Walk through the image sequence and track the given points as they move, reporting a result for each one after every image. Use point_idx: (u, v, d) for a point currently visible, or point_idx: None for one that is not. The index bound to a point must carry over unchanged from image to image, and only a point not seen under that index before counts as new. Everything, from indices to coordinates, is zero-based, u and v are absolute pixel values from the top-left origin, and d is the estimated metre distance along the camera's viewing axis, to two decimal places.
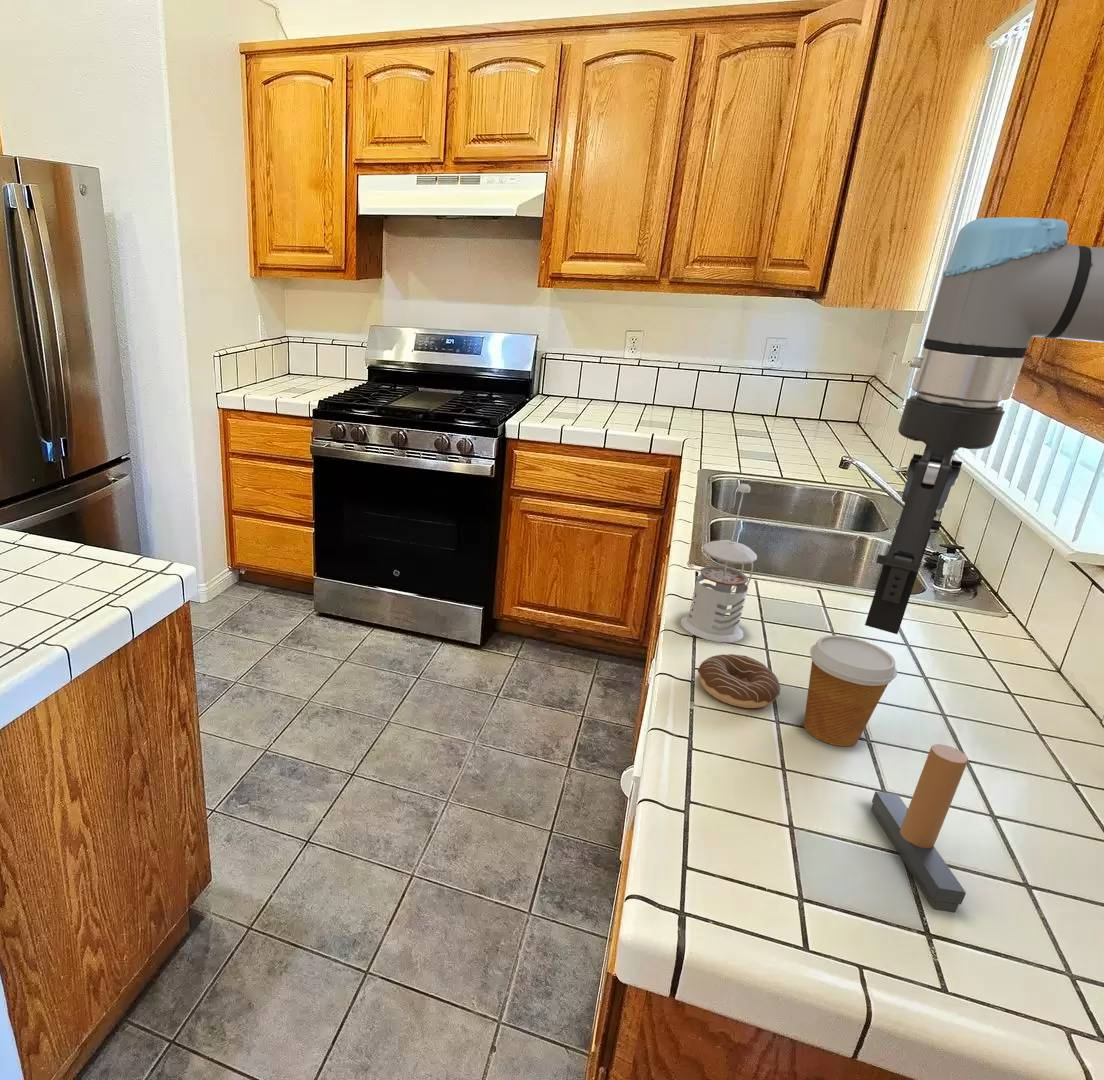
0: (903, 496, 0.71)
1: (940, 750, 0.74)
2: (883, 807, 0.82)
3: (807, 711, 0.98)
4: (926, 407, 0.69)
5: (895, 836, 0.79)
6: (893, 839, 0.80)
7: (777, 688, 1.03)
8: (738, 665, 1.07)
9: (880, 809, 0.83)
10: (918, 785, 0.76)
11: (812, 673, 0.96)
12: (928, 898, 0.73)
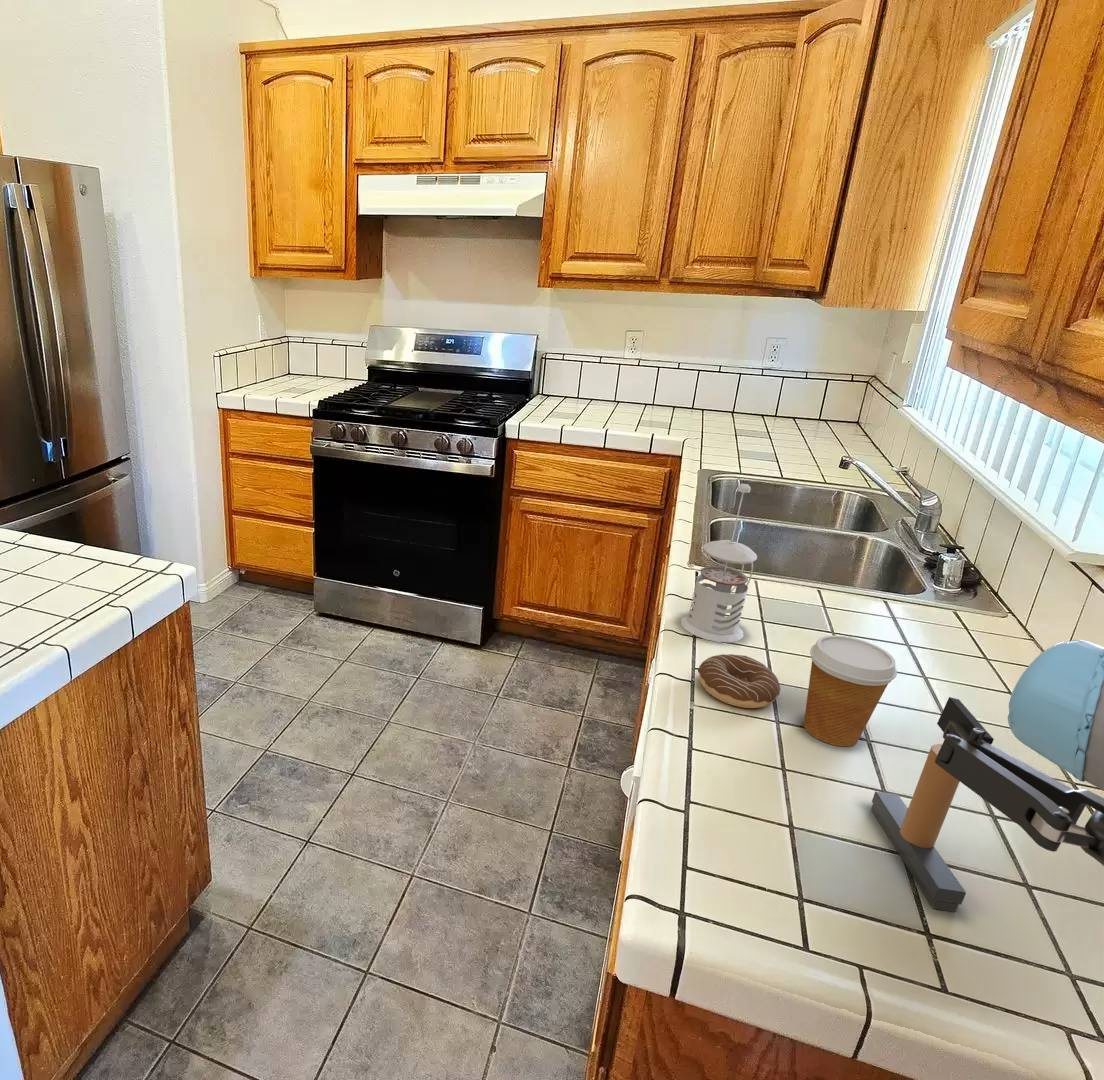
0: None
1: None
2: (883, 807, 0.82)
3: (807, 711, 0.98)
4: None
5: (895, 836, 0.79)
6: (893, 839, 0.80)
7: (777, 688, 1.03)
8: (738, 665, 1.07)
9: (880, 809, 0.83)
10: (918, 785, 0.76)
11: (812, 673, 0.96)
12: (928, 898, 0.73)
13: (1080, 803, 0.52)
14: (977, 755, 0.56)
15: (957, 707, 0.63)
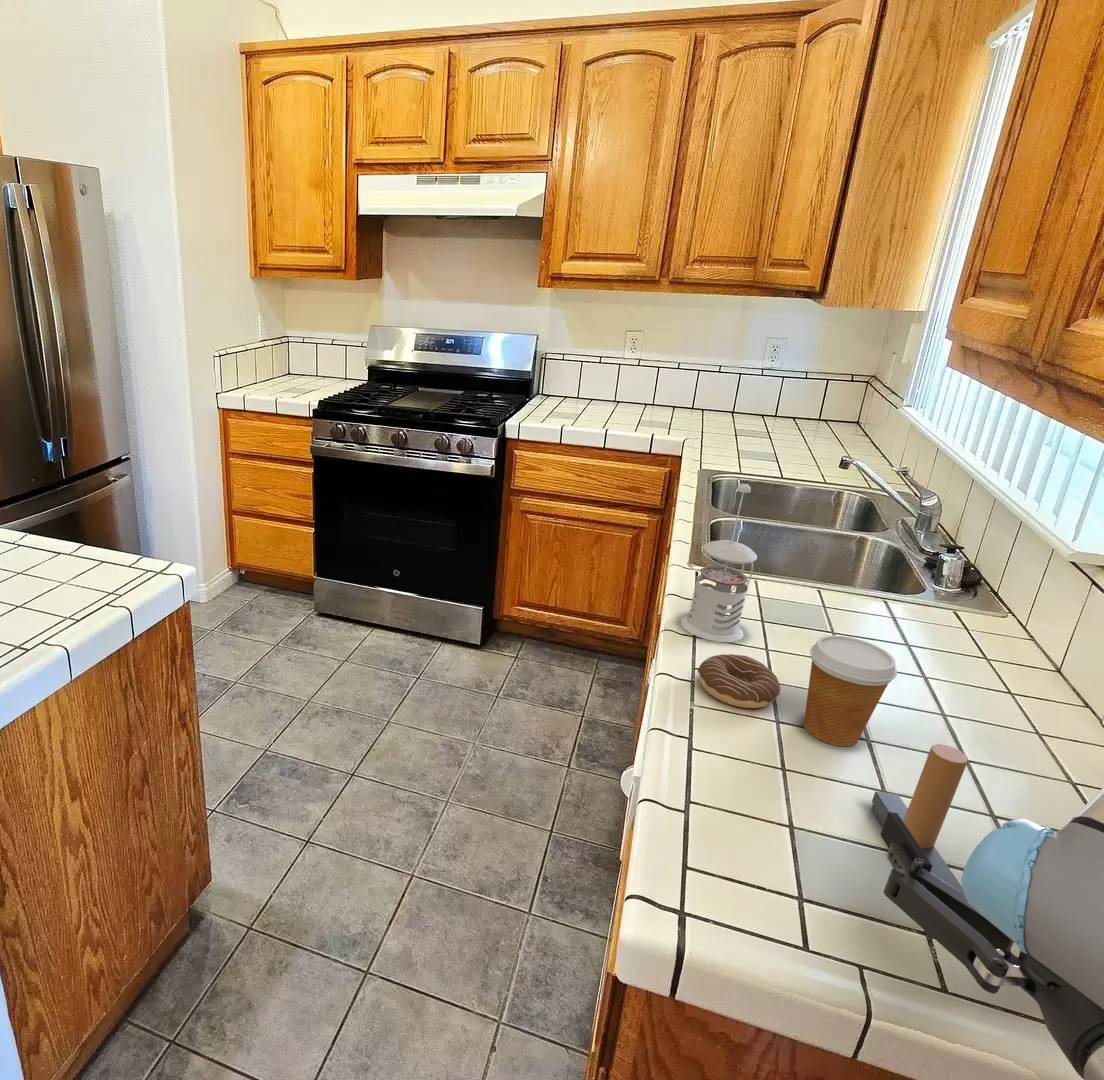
0: None
1: (940, 750, 0.74)
2: (883, 807, 0.82)
3: (807, 711, 0.98)
4: None
5: None
6: None
7: (777, 688, 1.03)
8: (738, 665, 1.07)
9: (880, 809, 0.83)
10: (918, 785, 0.76)
11: (812, 673, 0.96)
12: None
13: None
14: (920, 893, 0.61)
15: (897, 825, 0.69)
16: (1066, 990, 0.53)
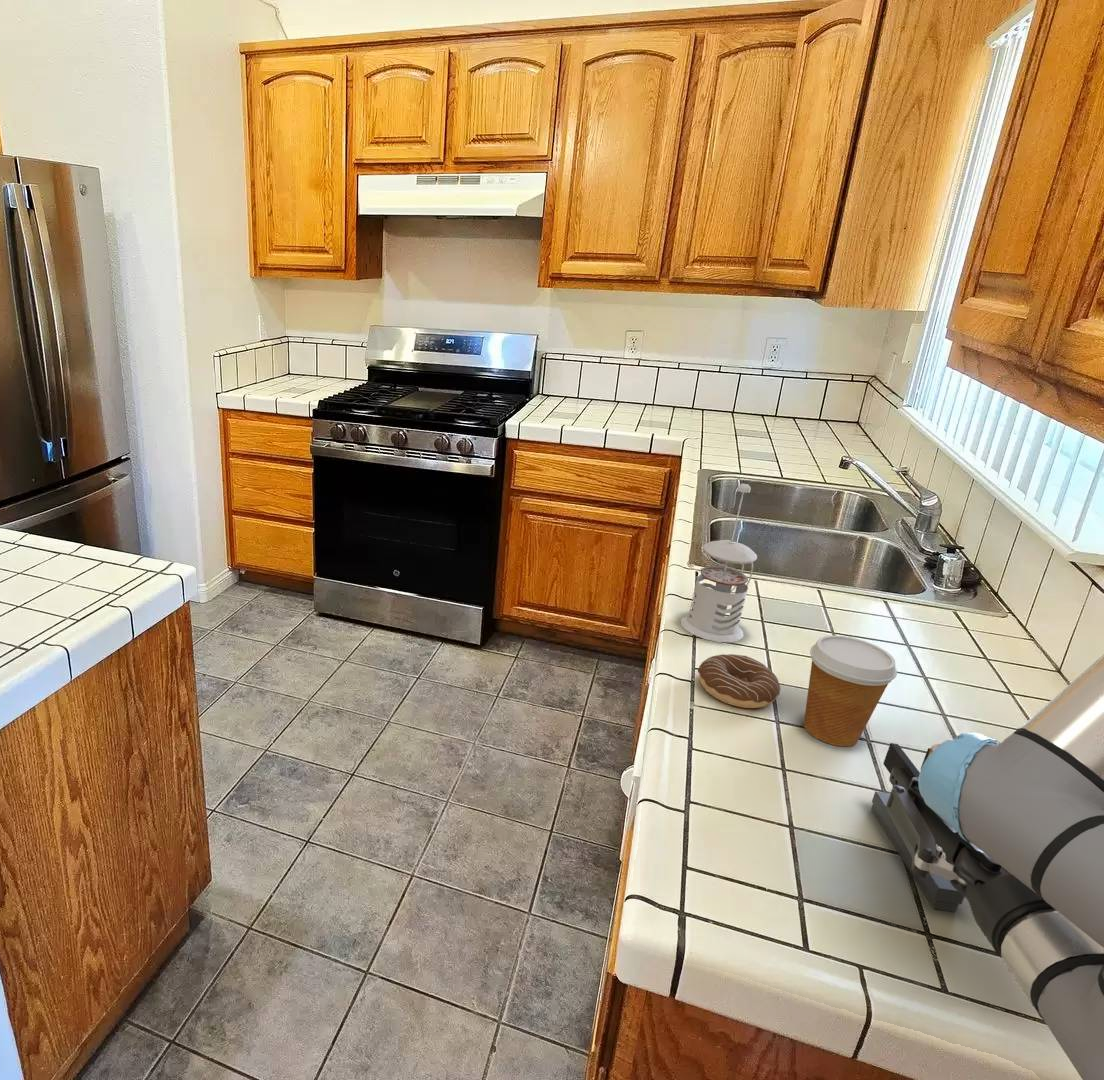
0: None
1: None
2: (883, 807, 0.82)
3: (807, 711, 0.98)
4: None
5: (895, 836, 0.79)
6: (893, 839, 0.80)
7: (777, 688, 1.03)
8: (738, 665, 1.07)
9: (880, 809, 0.83)
10: None
11: (812, 673, 0.96)
12: (928, 898, 0.73)
13: (960, 841, 0.67)
14: (905, 802, 0.71)
15: (897, 753, 0.79)
16: (989, 884, 0.61)
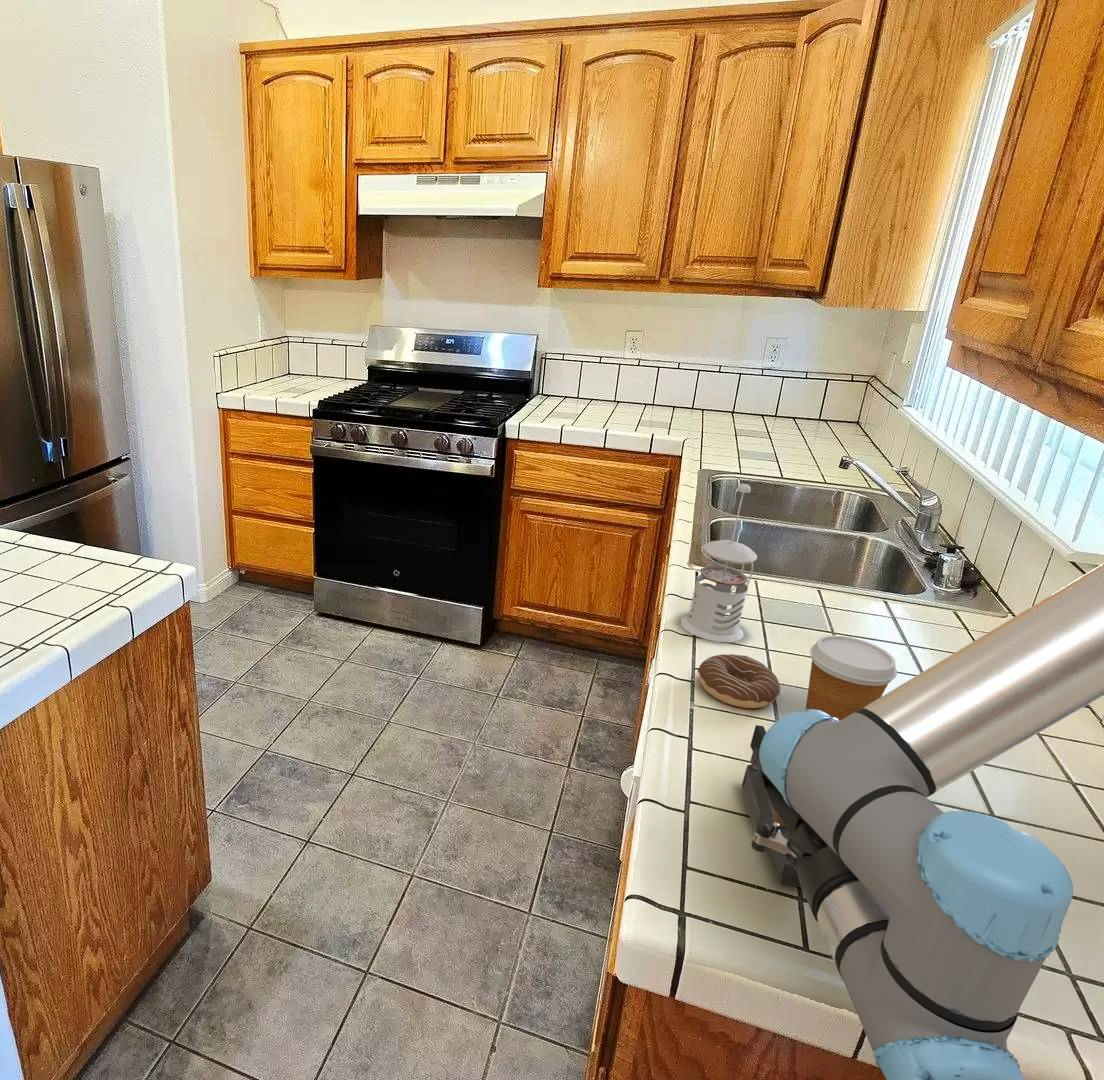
0: None
1: None
2: None
3: None
4: None
5: None
6: None
7: (777, 688, 1.03)
8: (738, 665, 1.07)
9: None
10: None
11: (812, 673, 0.96)
12: (777, 874, 0.75)
13: (798, 817, 0.69)
14: (754, 781, 0.73)
15: (760, 734, 0.80)
16: (813, 857, 0.63)
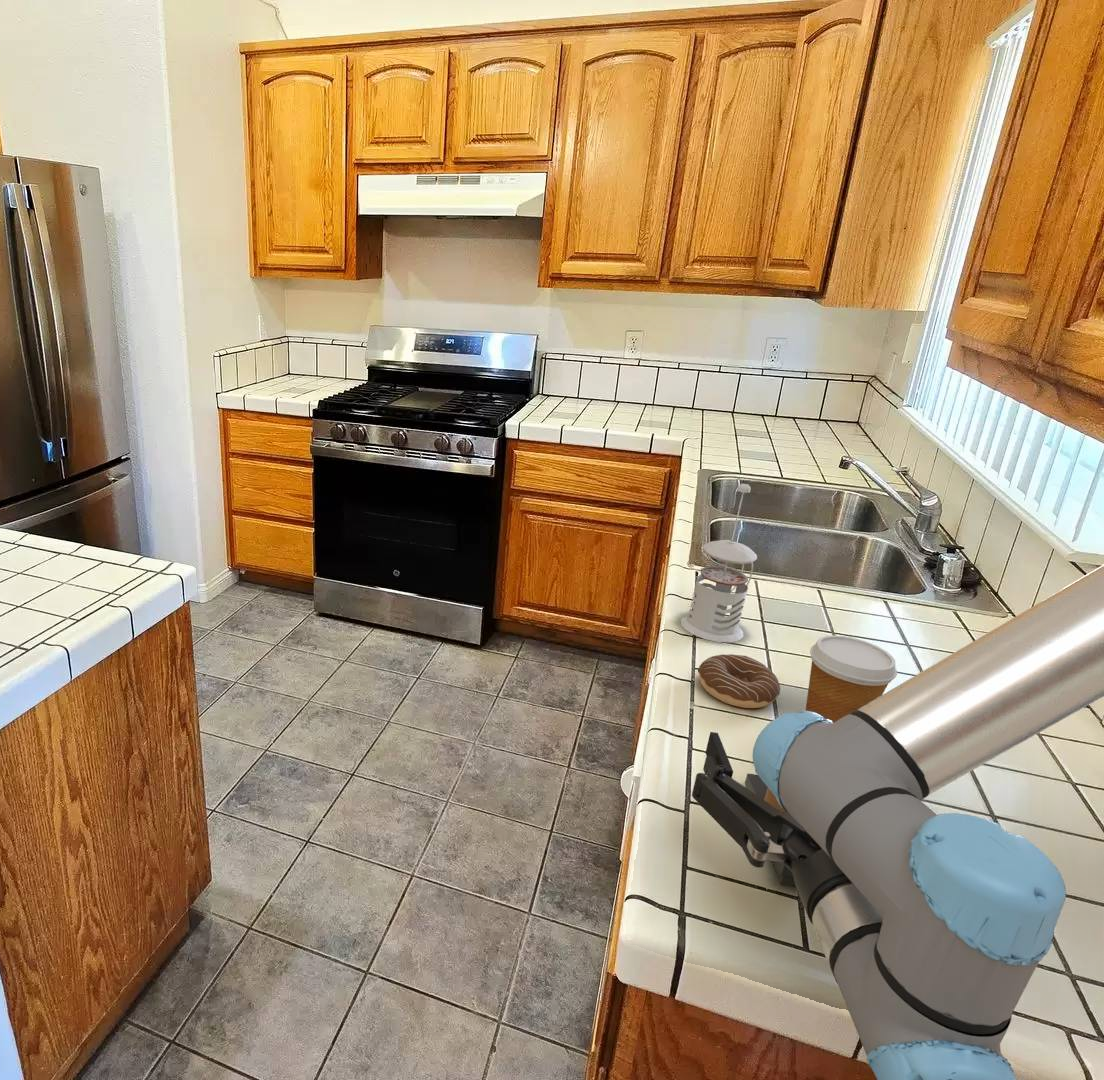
0: None
1: None
2: (751, 788, 0.84)
3: None
4: None
5: None
6: None
7: (777, 688, 1.03)
8: (738, 665, 1.07)
9: None
10: None
11: (812, 673, 0.96)
12: (778, 874, 0.75)
13: (783, 824, 0.68)
14: (715, 791, 0.72)
15: (714, 742, 0.79)
16: (808, 859, 0.63)
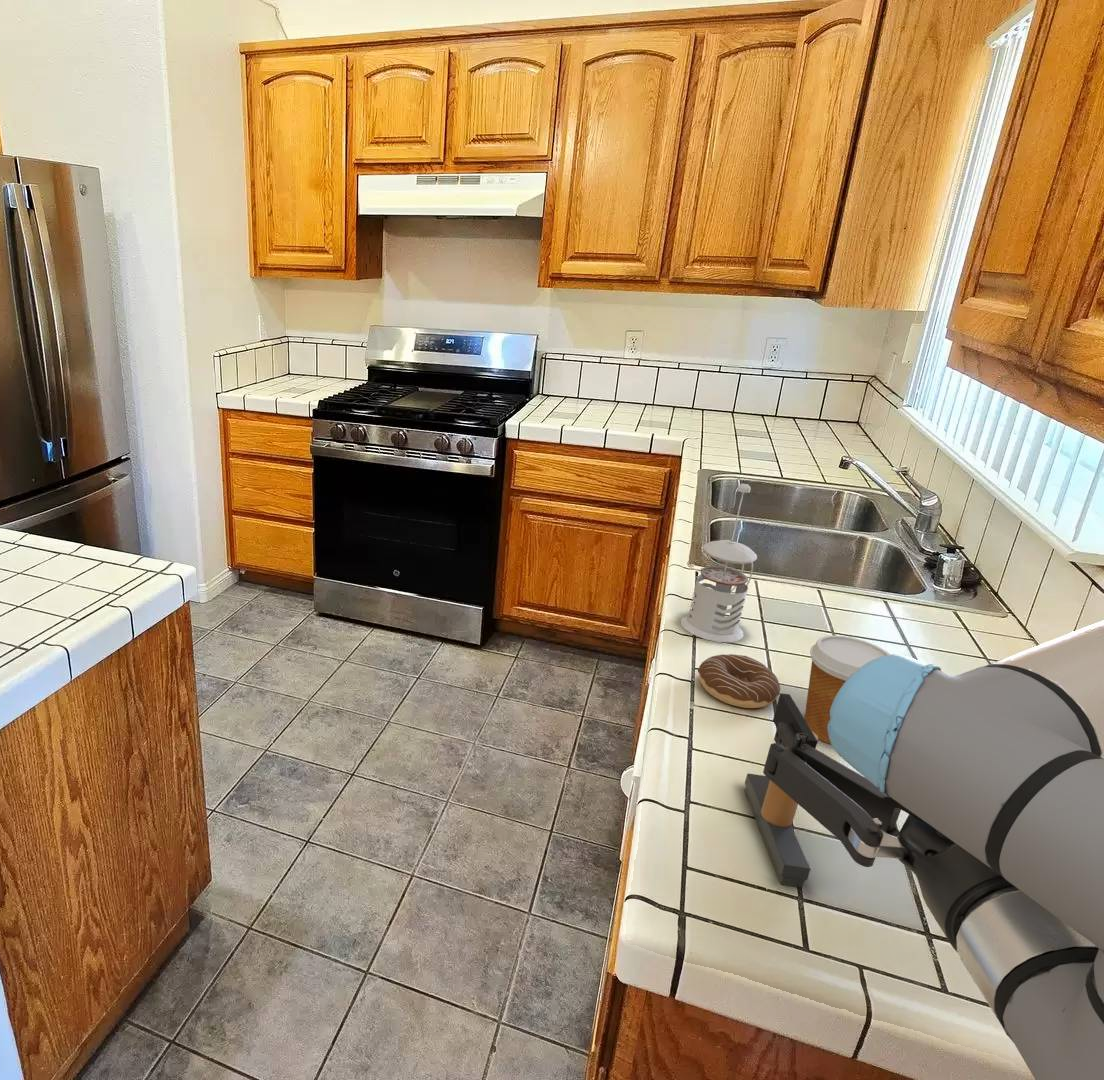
0: None
1: None
2: (751, 788, 0.84)
3: (807, 711, 0.98)
4: None
5: (758, 816, 0.81)
6: (757, 819, 0.82)
7: (777, 688, 1.03)
8: (738, 665, 1.07)
9: (749, 790, 0.85)
10: None
11: (812, 673, 0.96)
12: (778, 874, 0.75)
13: (895, 807, 0.51)
14: (798, 766, 0.54)
15: (786, 705, 0.61)
16: (943, 854, 0.46)
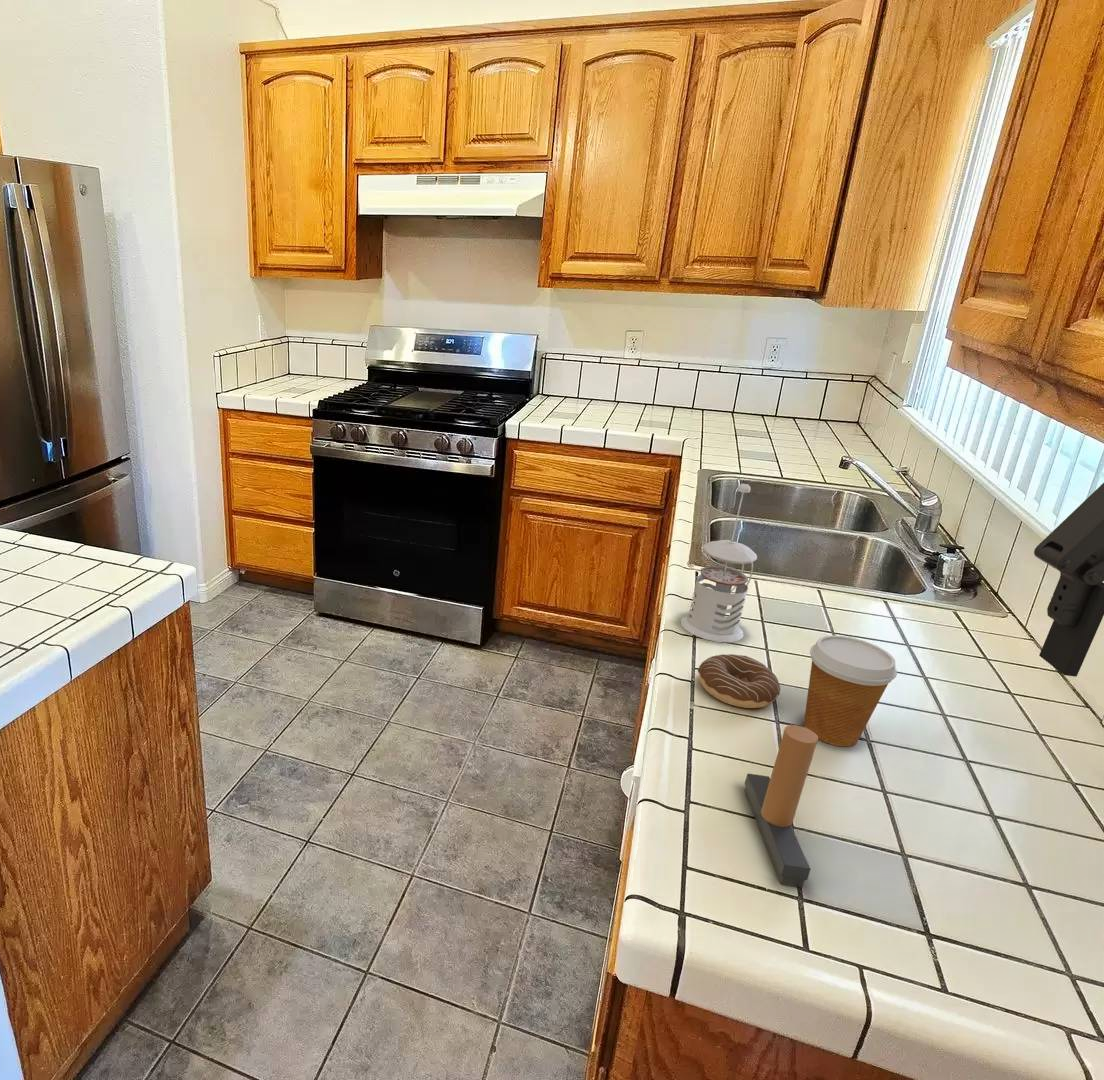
0: None
1: (792, 731, 0.76)
2: (751, 788, 0.84)
3: (807, 711, 0.98)
4: None
5: (758, 816, 0.81)
6: (757, 819, 0.82)
7: (777, 688, 1.03)
8: (738, 665, 1.07)
9: (749, 790, 0.85)
10: (774, 765, 0.78)
11: (812, 673, 0.96)
12: (778, 874, 0.75)
13: None
14: None
15: (1048, 634, 0.53)
16: None
